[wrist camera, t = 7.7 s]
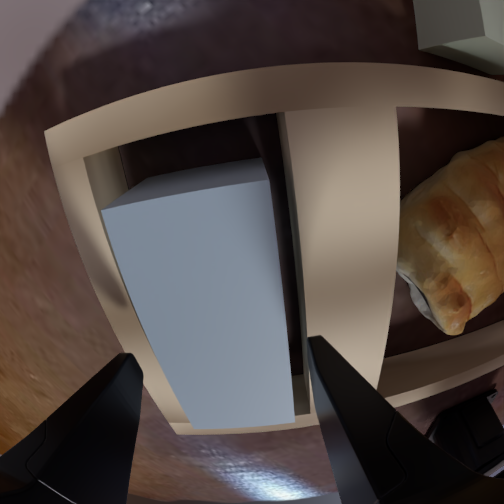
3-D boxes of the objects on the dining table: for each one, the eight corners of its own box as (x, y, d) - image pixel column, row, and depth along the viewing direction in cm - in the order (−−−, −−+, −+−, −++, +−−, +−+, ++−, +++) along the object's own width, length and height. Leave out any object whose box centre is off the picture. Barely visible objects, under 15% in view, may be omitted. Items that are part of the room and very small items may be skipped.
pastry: (494, 91, 8) (557, 100, 5) (535, 201, 10) (582, 230, 7) (354, 228, 11) (395, 282, 8) (423, 317, 13) (457, 370, 10)
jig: (572, 296, 13) (588, 312, 11) (183, 397, 15) (177, 434, 13) (601, 125, 7) (624, 134, 5) (83, 123, 9) (43, 131, 7)
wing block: (284, 346, 14) (295, 422, 10) (204, 354, 14) (193, 429, 10) (260, 154, 10) (269, 179, 6) (153, 173, 11) (100, 210, 6)
